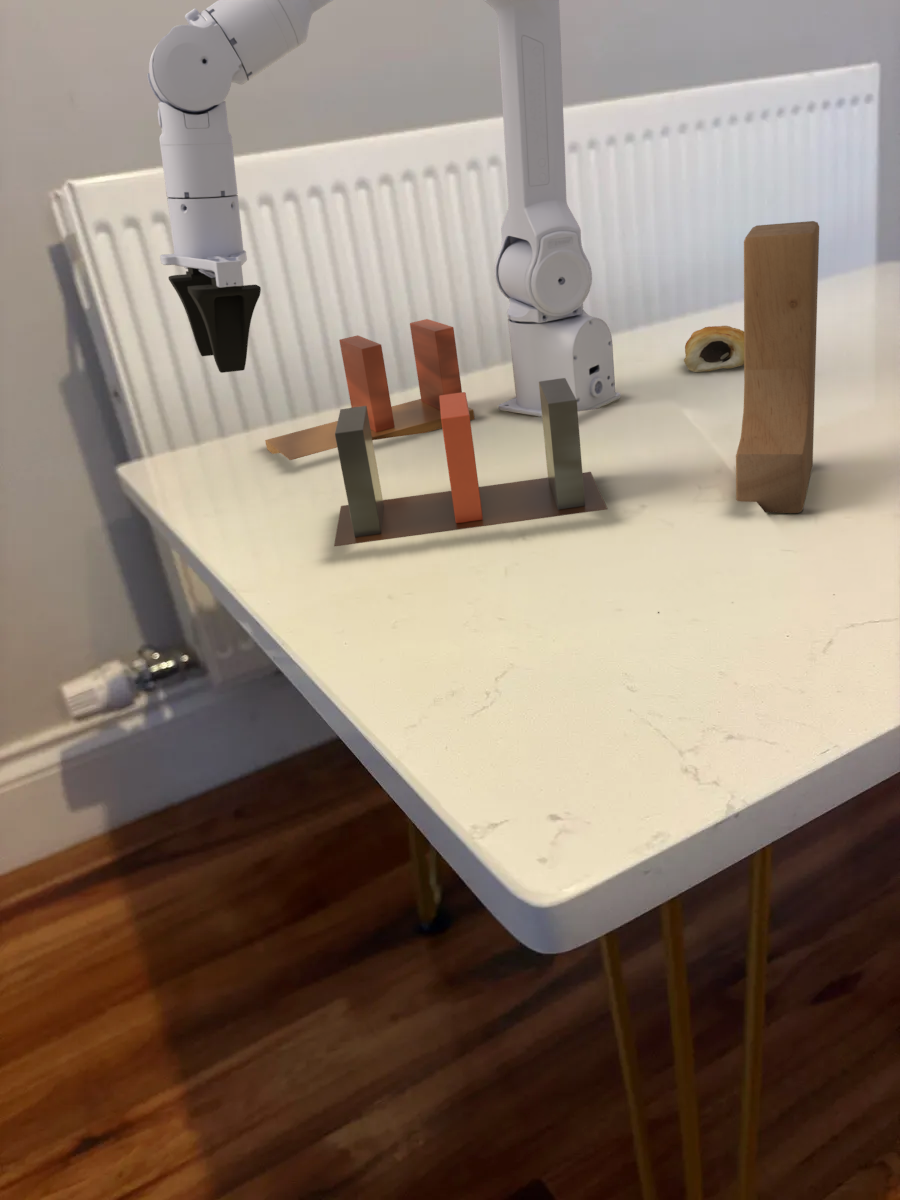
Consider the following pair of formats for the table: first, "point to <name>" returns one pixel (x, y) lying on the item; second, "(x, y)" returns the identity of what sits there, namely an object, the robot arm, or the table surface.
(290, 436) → the book rack
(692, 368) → the pastry
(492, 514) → the grey book stand
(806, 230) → the wooden block
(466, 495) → the terracotta book
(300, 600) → the table surface
